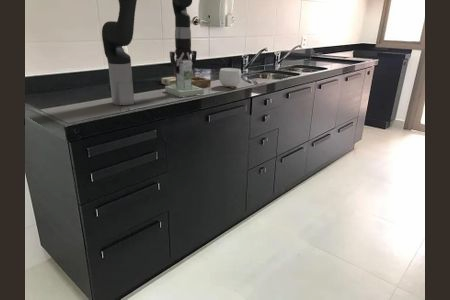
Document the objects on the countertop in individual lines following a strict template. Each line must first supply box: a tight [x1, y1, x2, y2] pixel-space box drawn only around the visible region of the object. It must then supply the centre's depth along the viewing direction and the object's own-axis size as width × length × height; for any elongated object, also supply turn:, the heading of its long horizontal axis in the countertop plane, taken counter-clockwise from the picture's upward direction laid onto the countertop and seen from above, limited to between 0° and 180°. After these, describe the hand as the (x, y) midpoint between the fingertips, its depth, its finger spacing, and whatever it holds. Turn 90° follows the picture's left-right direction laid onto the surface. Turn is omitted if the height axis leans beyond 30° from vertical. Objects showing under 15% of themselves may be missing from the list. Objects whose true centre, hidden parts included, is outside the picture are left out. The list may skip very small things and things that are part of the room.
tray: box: [164, 85, 205, 98], centre depth 160 cm, size 16×13×3 cm
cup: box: [218, 67, 242, 88], centre depth 176 cm, size 12×12×10 cm
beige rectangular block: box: [161, 76, 176, 86], centre depth 180 cm, size 10×8×4 cm
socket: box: [192, 76, 211, 89], centre depth 177 cm, size 11×11×4 cm
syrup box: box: [176, 59, 193, 91], centre depth 157 cm, size 6×6×14 cm
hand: (183, 72), depth 156 cm, fingers closed on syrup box, 6 cm apart
